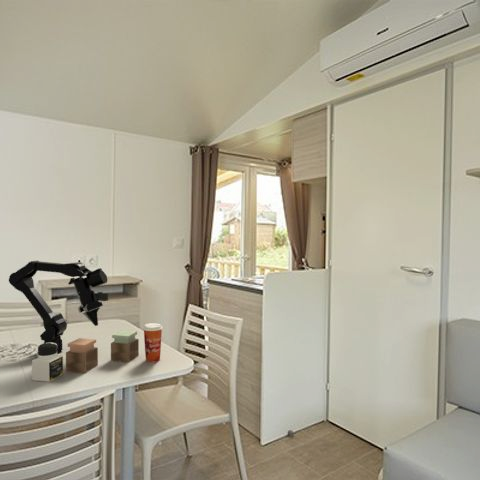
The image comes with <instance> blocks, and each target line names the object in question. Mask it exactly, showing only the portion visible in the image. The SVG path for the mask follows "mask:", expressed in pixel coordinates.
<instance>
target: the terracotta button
mask: <svg viewBox="0 0 480 480" xmlns="http://www.w3.org/2000/svg"><path fill="white" fill-rule="evenodd" d="M95 344H97V339H94V338H83V337H82V338H81V337H79V338H78V339H75V340H72V341H71V342H68V343H67V347H68V348H69V351H70V352H73V353H86V352H88V351H90V350H92V349H94V347H95Z"/></svg>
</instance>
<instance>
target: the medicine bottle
mask: <svg viewBox="0 0 480 480" xmlns="http://www.w3.org/2000/svg"><path fill="white" fill-rule="evenodd" d="M63 356H64V355H62V354H58V353H57V344H56V343H44V342H43V343H41V344H40V345H38V346H37V357H36V358H34V359H32V360H31V378H32V379H31V380H32V381H36V382H48V383H50V382H52V381H54V380H56V379H57V378H59V377H61V376H63V374H64V373H63V372H64V359H63V358H64V357H63Z"/></svg>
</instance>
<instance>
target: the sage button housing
mask: <svg viewBox="0 0 480 480" xmlns="http://www.w3.org/2000/svg"><path fill="white" fill-rule="evenodd" d="M139 343H140V342H139V338H135V340H134V341H133V342H131V343H129V344H122V343H114V341H112V342H110V361H113V362H115V361H116V362H123V363H124V362H125V363H126V362H127V363H130V362H131V361H133V360H134V359H136V358H137V357H138V356H140V354H139V345H140V344H139Z"/></svg>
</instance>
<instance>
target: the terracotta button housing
mask: <svg viewBox="0 0 480 480" xmlns="http://www.w3.org/2000/svg"><path fill="white" fill-rule="evenodd" d="M98 351H99V349H98V347H96V346H94V349H92V350H90V351H88V352H86V353H73V352H70V350H68V351H66V352H65V372H71V373H79V374H80V373H81V374H83V373H84V374H87V373H88V372H89V371H92V370H93V369H94V368H96V367H97V366H98V365H99V360H98V359H99V354H98V353H99V352H98Z"/></svg>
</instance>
